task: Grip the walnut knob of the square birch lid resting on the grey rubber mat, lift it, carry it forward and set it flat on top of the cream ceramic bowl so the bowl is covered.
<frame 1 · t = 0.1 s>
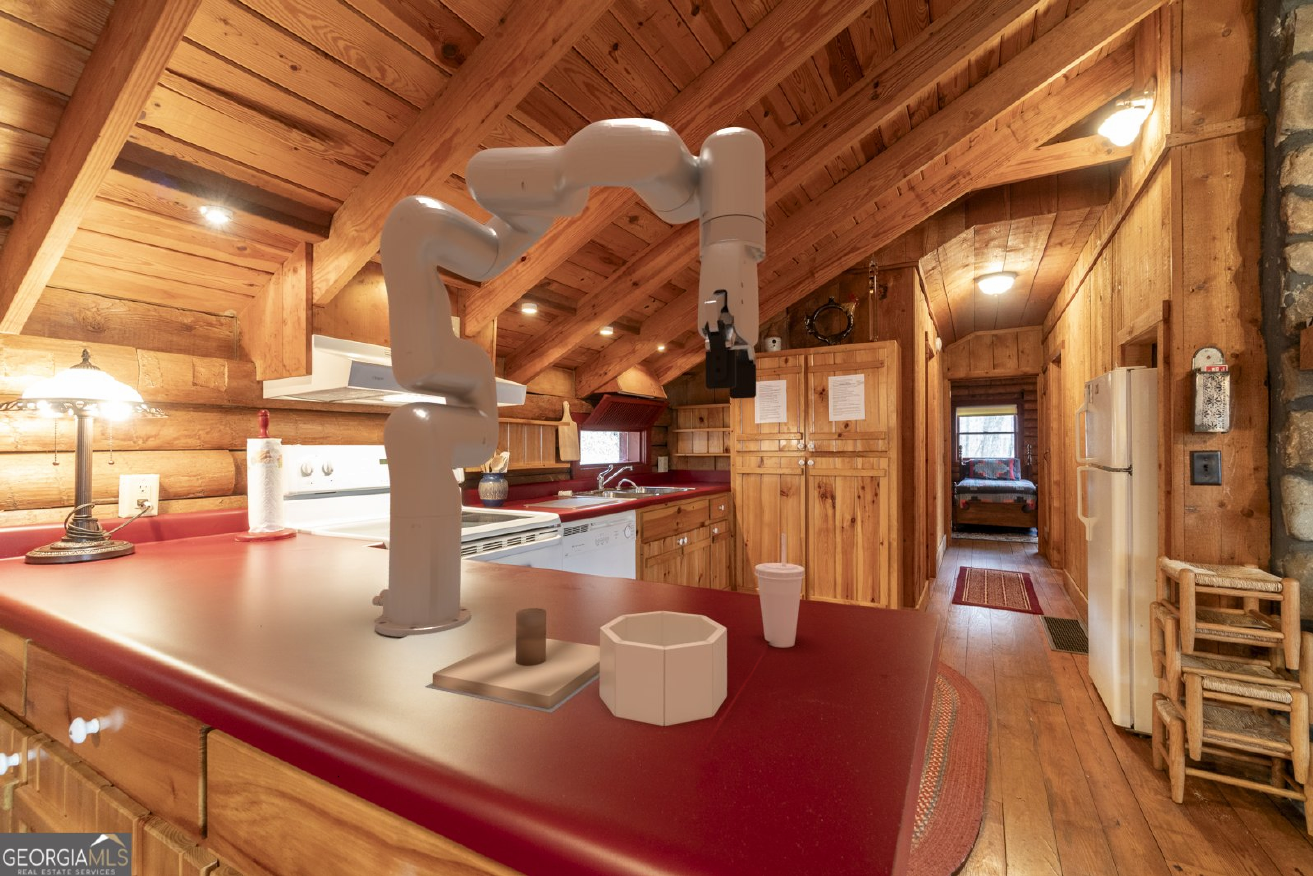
hand: (732, 393, 63), 31 cm above the table, tool pointing down, fingers open, 9 cm apart
bowl: (663, 700, 55), on the table
smoothie: (779, 644, 72), on the table
lid: (530, 671, 61), resting on mat
mat: (530, 676, 61), on the table
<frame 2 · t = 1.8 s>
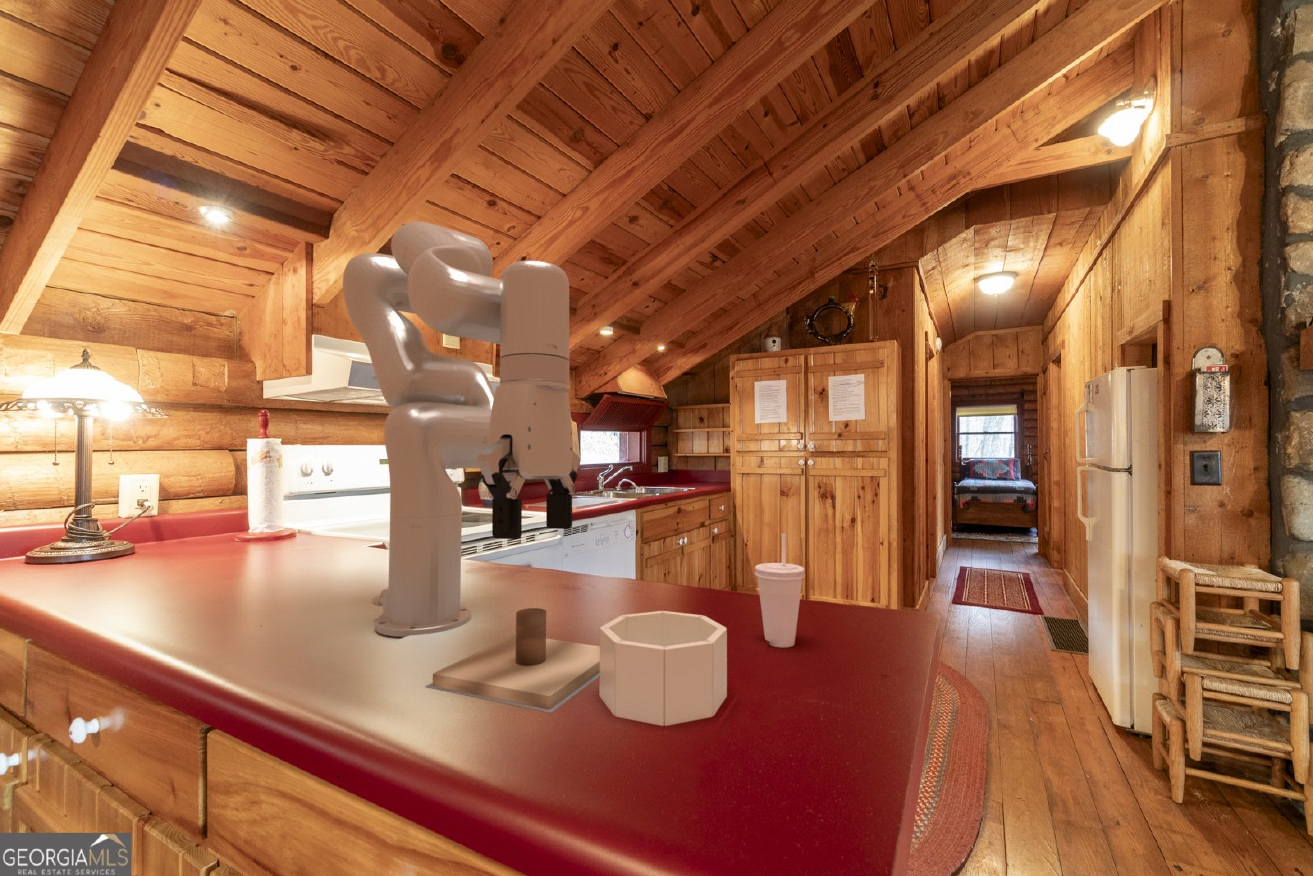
hand: (534, 532, 61), 16 cm above the table, tool pointing down, fingers open, 9 cm apart
nothing on the table moved.
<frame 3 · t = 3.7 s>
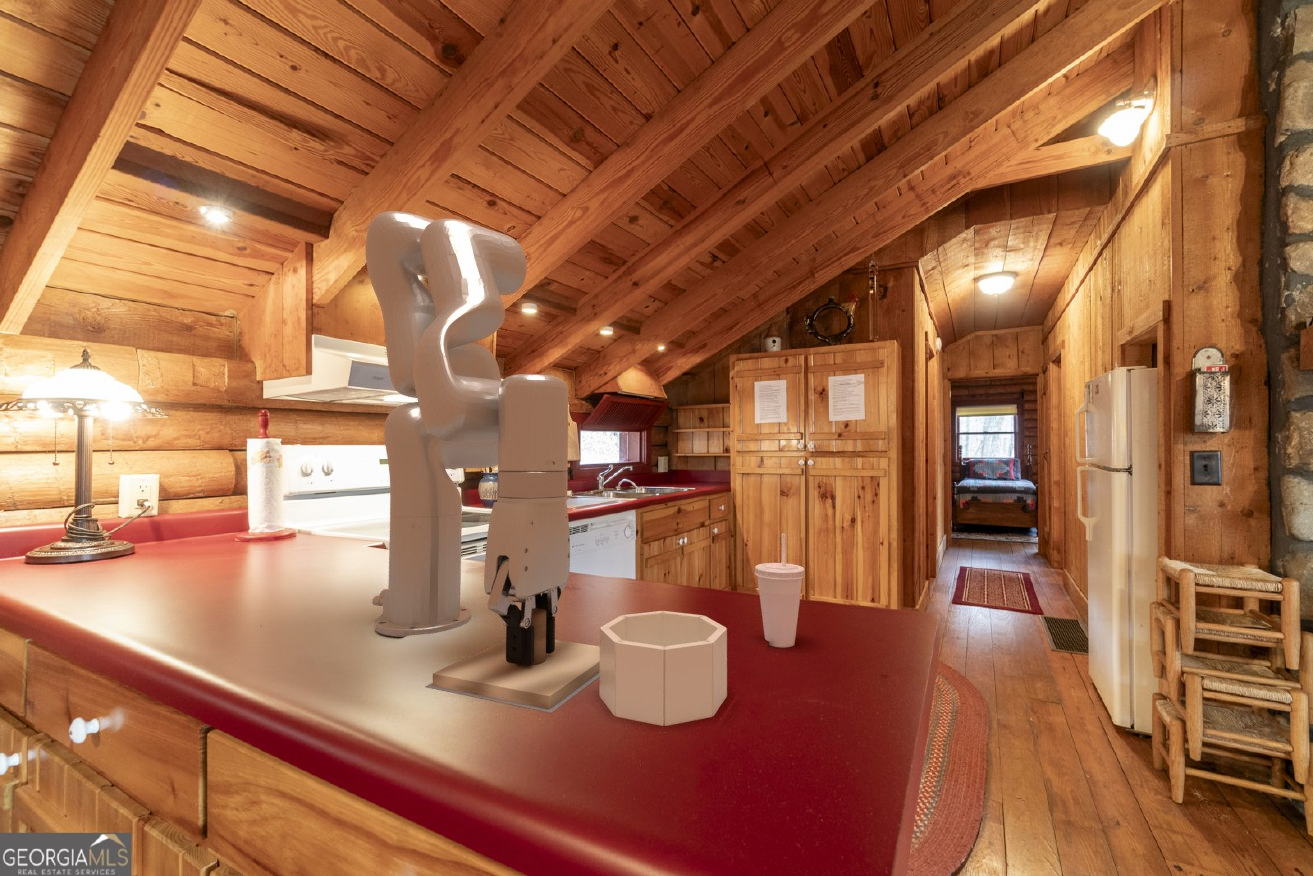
hand: (530, 655, 61), 2 cm above the table, tool pointing down, fingers closed on lid, 3 cm apart
lid: (530, 671, 61), resting on mat, touching gripper
everything else where it was.
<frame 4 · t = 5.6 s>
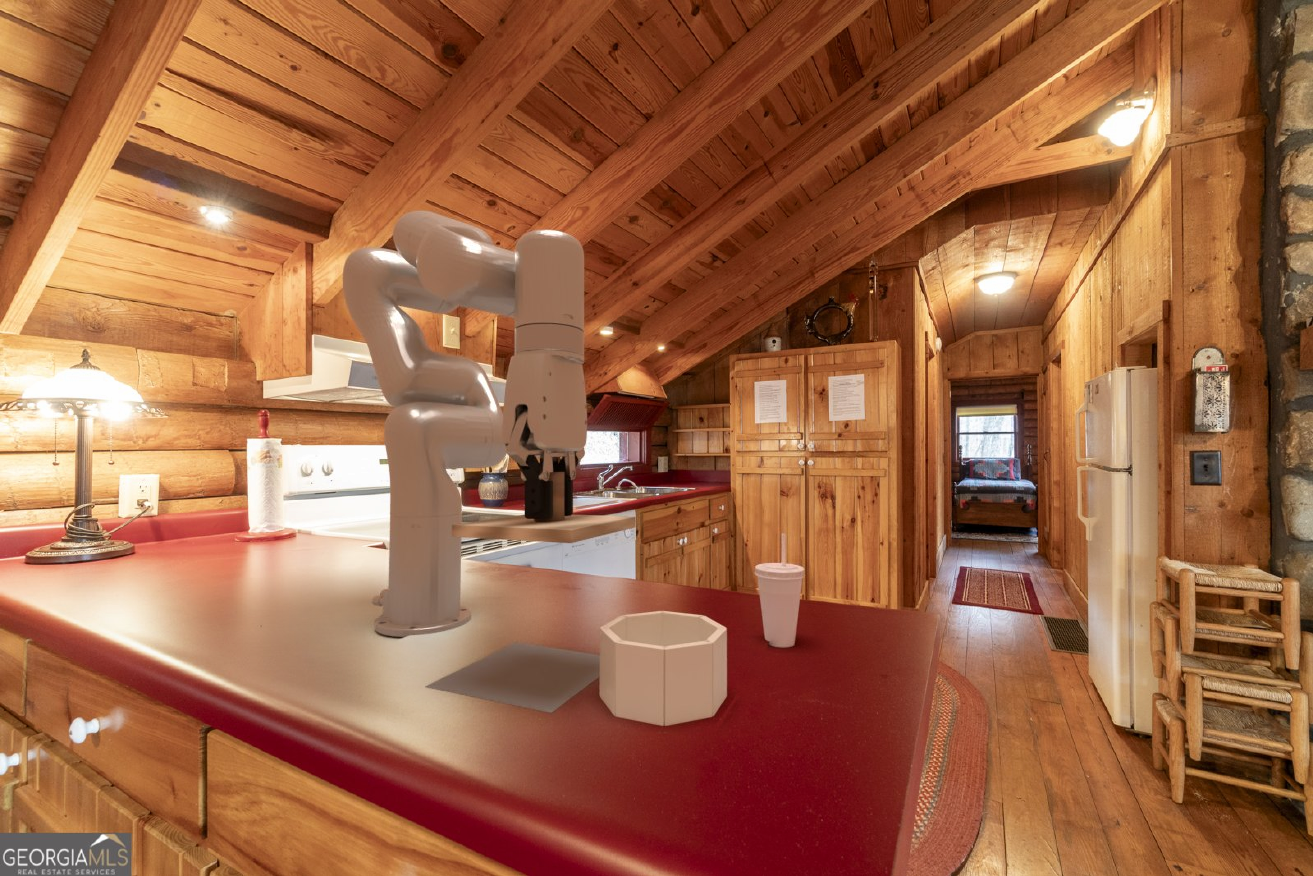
hand: (549, 515, 60), 17 cm above the table, tool pointing down, fingers closed on lid, 3 cm apart
lid: (549, 531, 60), point 16 cm above the table, touching gripper
everything else where it was.
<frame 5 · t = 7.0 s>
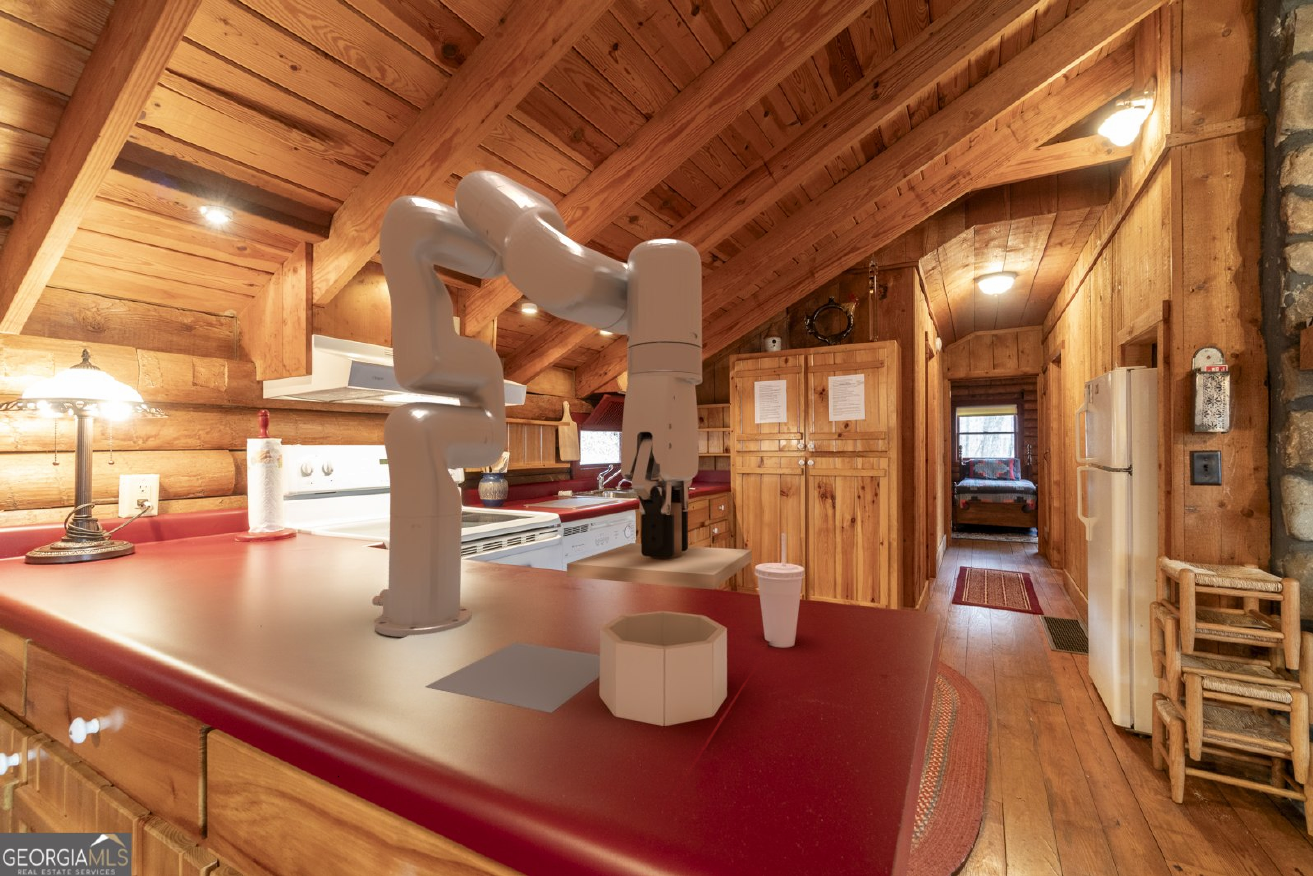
hand: (665, 551, 55), 15 cm above the table, tool pointing down, fingers closed on lid, 3 cm apart
lid: (665, 568, 55), point 13 cm above the table, touching gripper
everything else where it was.
when the fingers open (11 cm above the table, at t = 7.8 s): lid drops 2 cm, resting on bowl.
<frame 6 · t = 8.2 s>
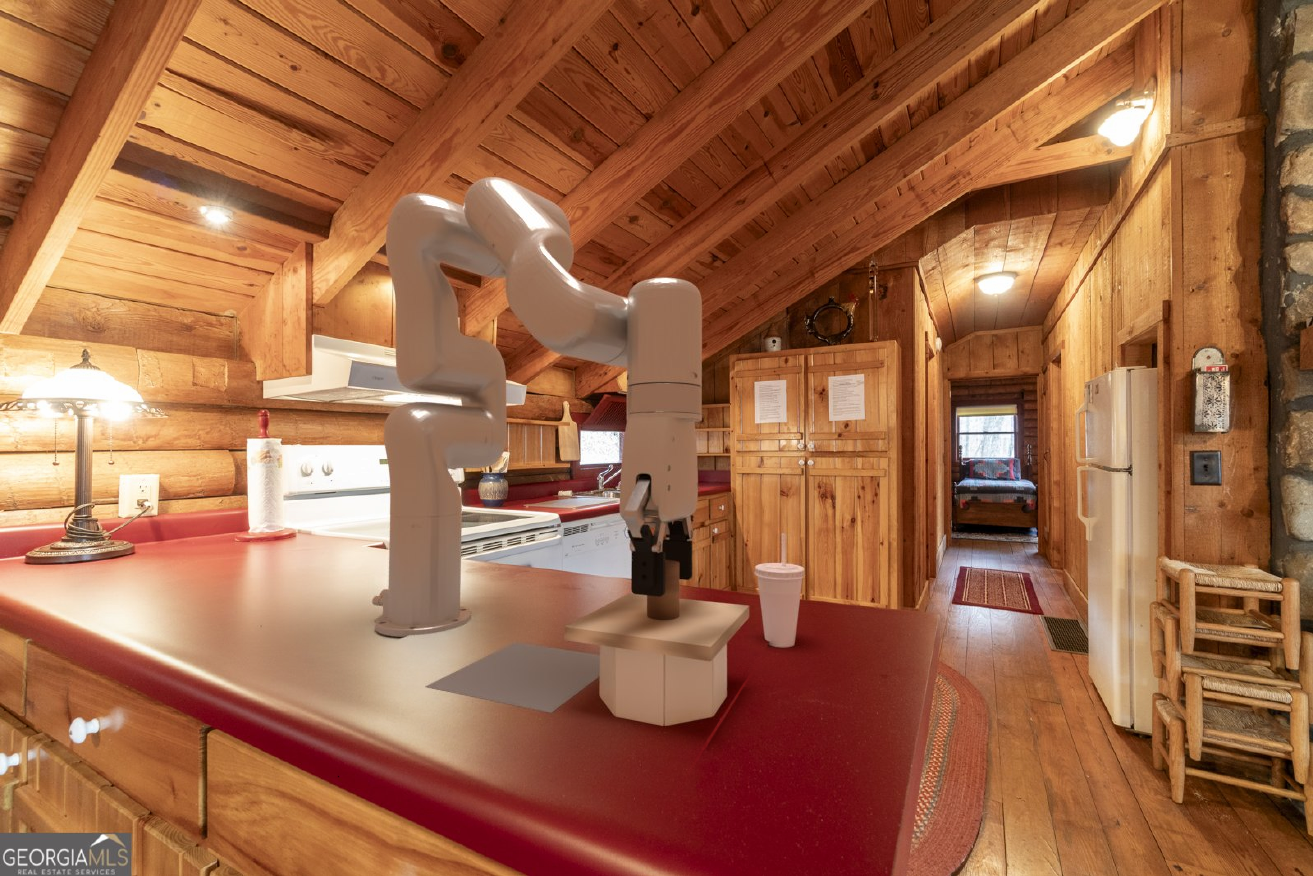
hand: (663, 584, 55), 11 cm above the table, tool pointing down, fingers open, 7 cm apart
lid: (663, 627, 55), point 7 cm above the table, touching bowl
everything else where it was.
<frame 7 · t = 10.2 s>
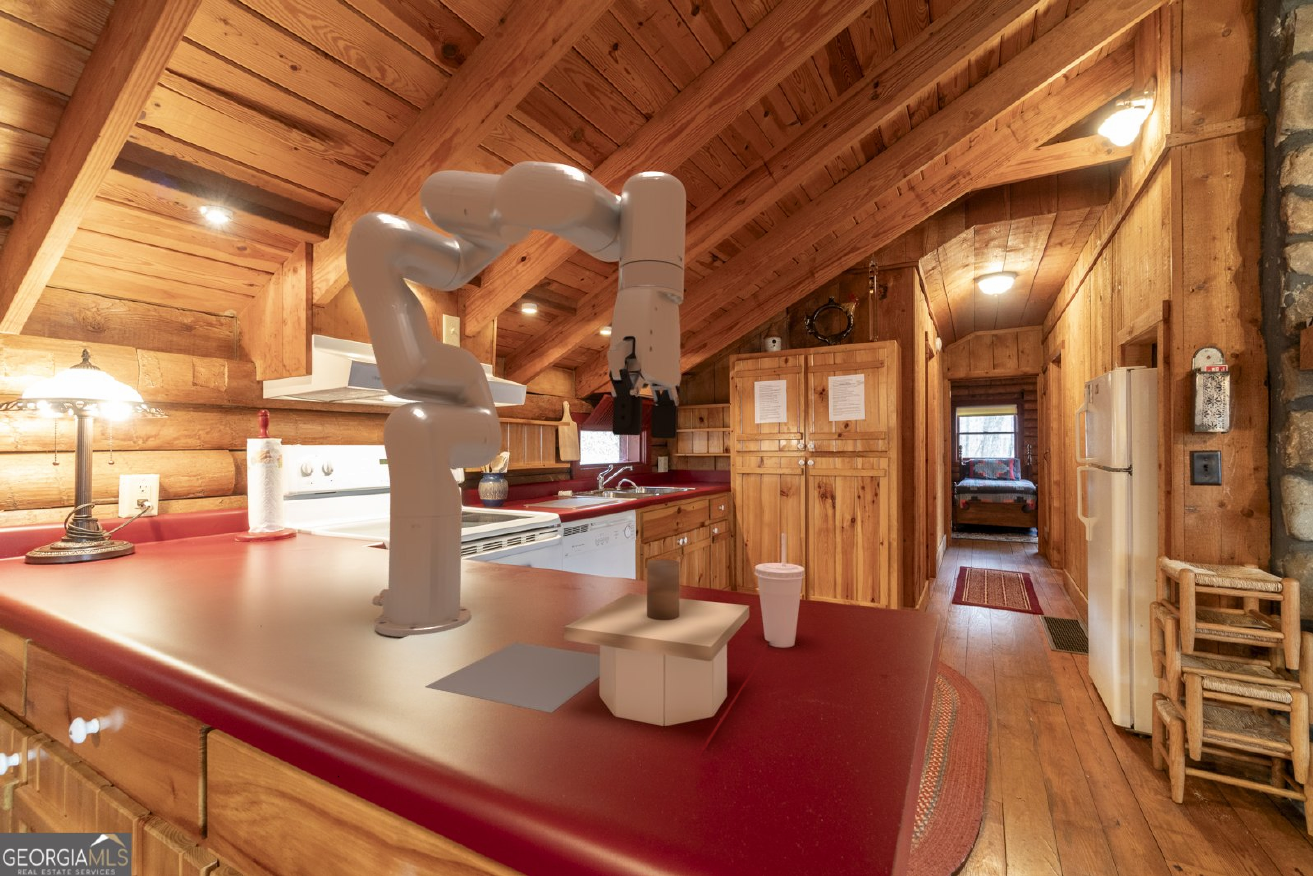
hand: (646, 436, 64), 26 cm above the table, tool pointing down, fingers open, 9 cm apart
nothing on the table moved.
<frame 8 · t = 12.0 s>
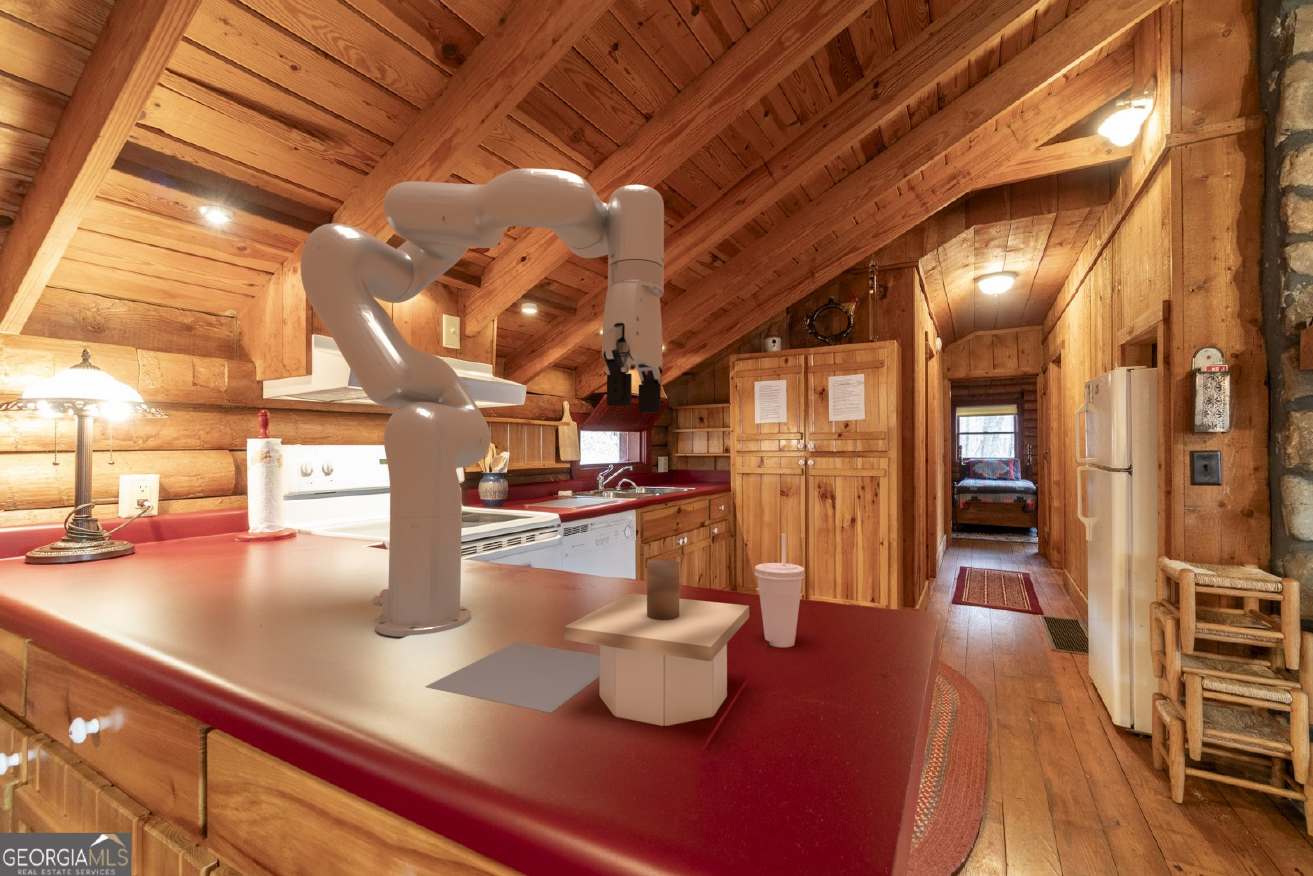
hand: (635, 409, 75), 30 cm above the table, tool pointing down, fingers open, 9 cm apart
nothing on the table moved.
at the end: lid 0.1 cm off-centre on the bowl, point 7.0 cm above the bowl's base; lid tilted 0°; the gripper is holding nothing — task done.
